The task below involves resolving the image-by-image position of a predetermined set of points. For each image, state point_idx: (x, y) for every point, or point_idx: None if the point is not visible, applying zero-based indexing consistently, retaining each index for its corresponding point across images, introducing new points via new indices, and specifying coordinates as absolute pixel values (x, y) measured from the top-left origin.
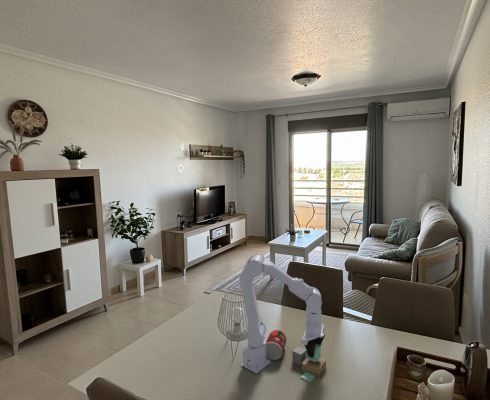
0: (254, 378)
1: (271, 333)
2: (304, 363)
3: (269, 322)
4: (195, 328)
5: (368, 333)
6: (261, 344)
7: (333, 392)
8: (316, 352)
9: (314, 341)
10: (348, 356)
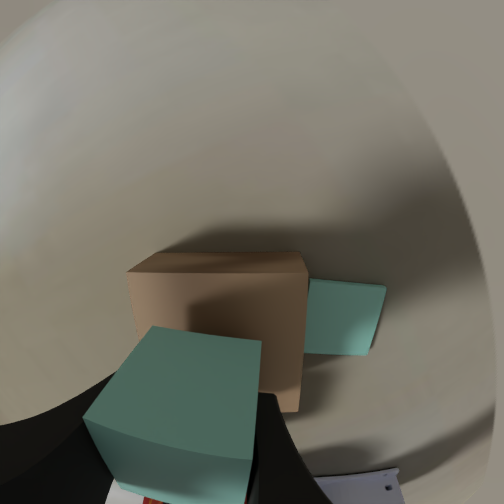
0: (422, 455)
1: None
2: (291, 399)
3: None
4: None
5: None
6: None
7: (393, 108)
8: (227, 415)
9: (98, 483)
10: (8, 180)
